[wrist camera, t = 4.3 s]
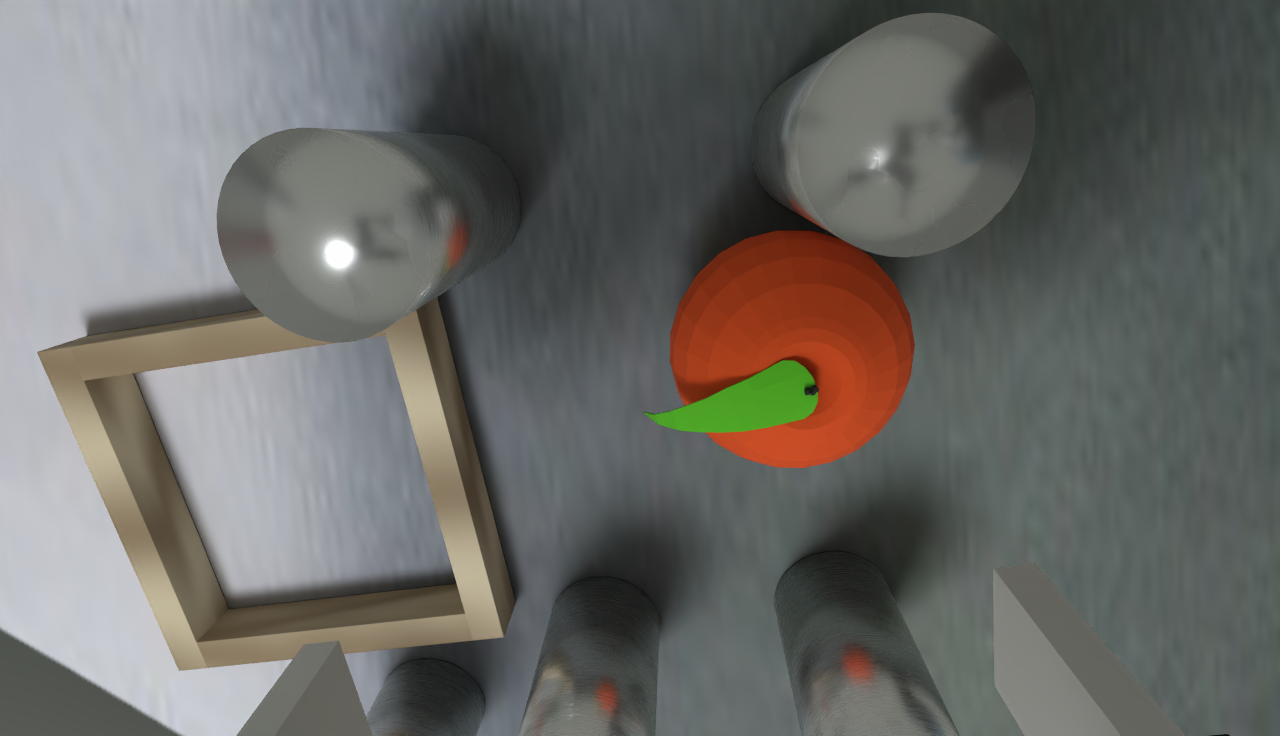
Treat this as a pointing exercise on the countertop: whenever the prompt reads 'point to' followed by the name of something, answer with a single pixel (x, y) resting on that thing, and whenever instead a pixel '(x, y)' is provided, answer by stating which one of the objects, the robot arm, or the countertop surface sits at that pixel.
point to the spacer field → (485, 227)
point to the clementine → (790, 350)
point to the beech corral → (170, 545)
